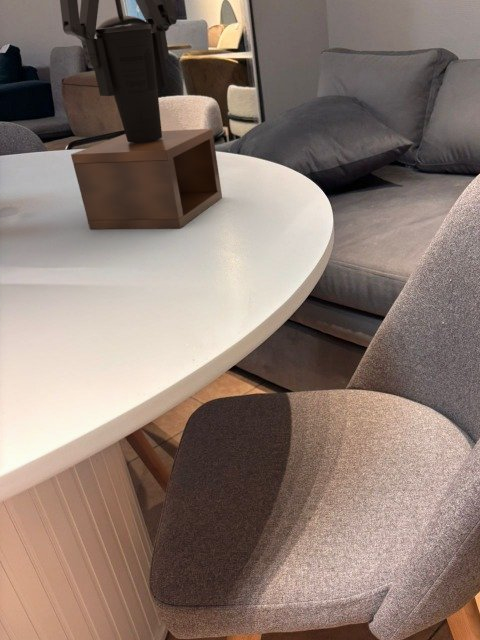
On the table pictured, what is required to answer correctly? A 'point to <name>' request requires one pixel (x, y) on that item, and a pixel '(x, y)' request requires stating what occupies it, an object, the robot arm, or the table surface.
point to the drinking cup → (132, 74)
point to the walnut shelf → (148, 180)
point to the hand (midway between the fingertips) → (135, 90)
